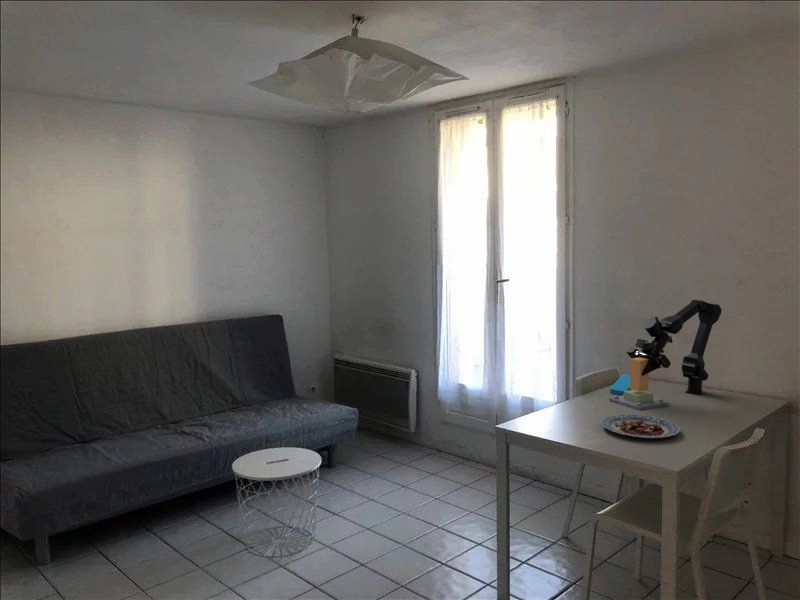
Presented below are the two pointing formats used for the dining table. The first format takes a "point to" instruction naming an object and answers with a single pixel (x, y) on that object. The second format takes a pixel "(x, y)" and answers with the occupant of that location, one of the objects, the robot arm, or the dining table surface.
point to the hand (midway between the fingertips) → (636, 373)
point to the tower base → (639, 405)
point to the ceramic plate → (640, 426)
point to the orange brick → (638, 374)
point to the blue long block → (621, 385)
